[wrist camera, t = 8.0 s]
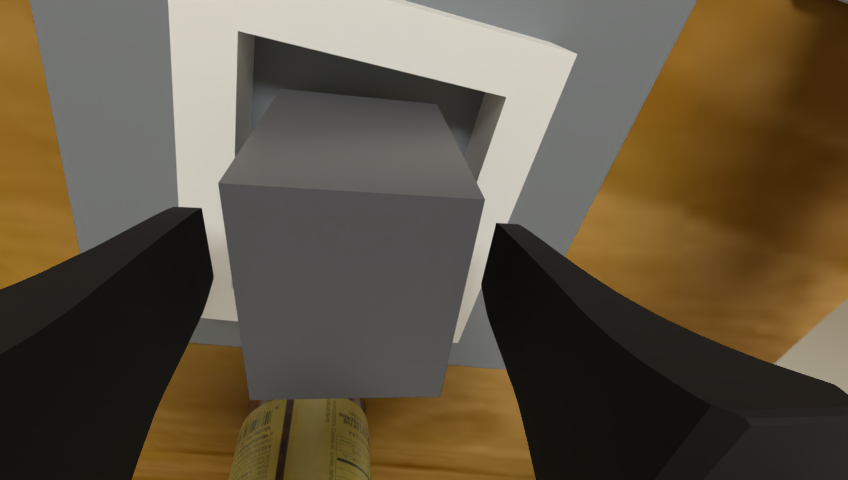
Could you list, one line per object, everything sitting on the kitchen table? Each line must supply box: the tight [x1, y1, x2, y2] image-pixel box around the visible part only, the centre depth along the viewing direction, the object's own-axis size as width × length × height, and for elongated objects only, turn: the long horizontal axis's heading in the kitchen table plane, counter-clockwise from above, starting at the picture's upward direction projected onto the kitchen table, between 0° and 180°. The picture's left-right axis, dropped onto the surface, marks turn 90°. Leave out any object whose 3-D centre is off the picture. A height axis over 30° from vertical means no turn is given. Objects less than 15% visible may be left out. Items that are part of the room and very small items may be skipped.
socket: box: [30, 0, 697, 370], centre depth 14 cm, size 18×18×3 cm
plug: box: [218, 89, 485, 400], centre depth 12 cm, size 4×5×7 cm
